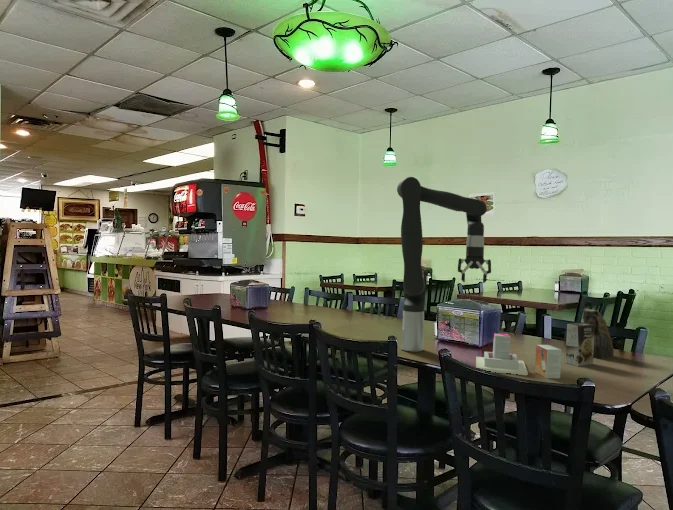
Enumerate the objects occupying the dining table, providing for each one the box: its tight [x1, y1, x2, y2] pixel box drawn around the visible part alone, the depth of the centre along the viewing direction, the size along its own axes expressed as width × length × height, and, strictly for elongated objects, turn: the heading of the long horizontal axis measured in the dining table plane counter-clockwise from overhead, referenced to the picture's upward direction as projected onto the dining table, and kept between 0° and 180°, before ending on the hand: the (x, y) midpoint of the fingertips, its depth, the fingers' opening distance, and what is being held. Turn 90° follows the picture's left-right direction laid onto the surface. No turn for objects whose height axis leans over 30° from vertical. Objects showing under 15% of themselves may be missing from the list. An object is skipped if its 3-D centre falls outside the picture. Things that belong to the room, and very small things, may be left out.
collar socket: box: [475, 351, 529, 376], centre depth 186 cm, size 18×18×4 cm
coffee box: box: [565, 322, 595, 367], centre depth 195 cm, size 9×6×16 cm
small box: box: [534, 344, 563, 379], centre depth 176 cm, size 8×6×10 cm
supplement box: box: [492, 332, 511, 360], centre depth 186 cm, size 6×6×12 cm
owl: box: [582, 307, 614, 360], centre depth 211 cm, size 13×13×20 cm
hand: (473, 282), depth 214 cm, fingers open, 8 cm apart
